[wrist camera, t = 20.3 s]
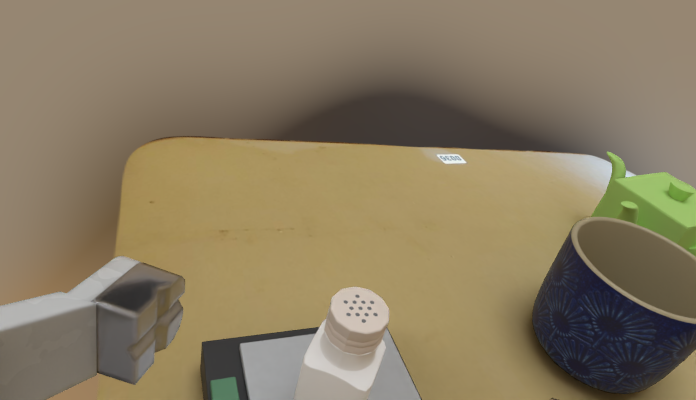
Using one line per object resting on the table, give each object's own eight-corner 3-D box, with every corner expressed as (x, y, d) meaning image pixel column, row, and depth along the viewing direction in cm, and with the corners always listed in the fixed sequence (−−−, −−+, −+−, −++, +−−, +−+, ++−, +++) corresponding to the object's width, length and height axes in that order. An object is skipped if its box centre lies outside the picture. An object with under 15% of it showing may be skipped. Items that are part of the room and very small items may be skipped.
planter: (670, 433, 38) (762, 348, 32) (519, 377, 40) (581, 285, 34) (636, 325, 49) (702, 245, 43) (517, 283, 50) (565, 200, 44)
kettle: (576, 275, 54) (629, 194, 47) (562, 211, 65) (603, 139, 59) (713, 321, 52) (786, 243, 46) (674, 246, 64) (727, 176, 58)
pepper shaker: (366, 398, 31) (405, 298, 26) (345, 453, 28) (386, 352, 23) (310, 373, 32) (338, 270, 27) (284, 424, 29) (310, 319, 23)
